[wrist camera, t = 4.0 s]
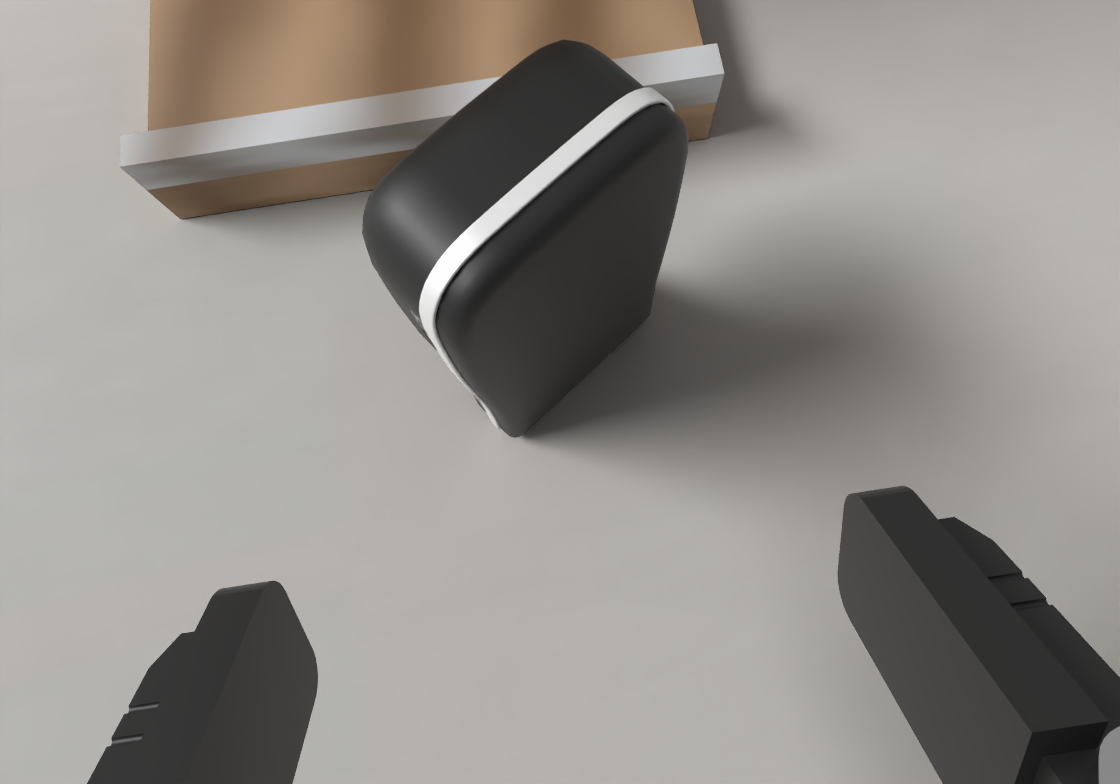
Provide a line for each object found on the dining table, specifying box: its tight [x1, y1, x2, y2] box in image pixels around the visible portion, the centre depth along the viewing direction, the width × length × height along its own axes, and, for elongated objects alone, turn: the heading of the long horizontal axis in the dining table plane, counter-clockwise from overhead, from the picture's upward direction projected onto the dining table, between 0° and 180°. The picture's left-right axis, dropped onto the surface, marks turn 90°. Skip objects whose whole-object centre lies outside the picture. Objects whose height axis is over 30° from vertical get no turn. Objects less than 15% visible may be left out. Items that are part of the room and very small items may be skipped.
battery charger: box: [362, 39, 689, 437], centre depth 18 cm, size 7×4×11 cm, turn 134°
